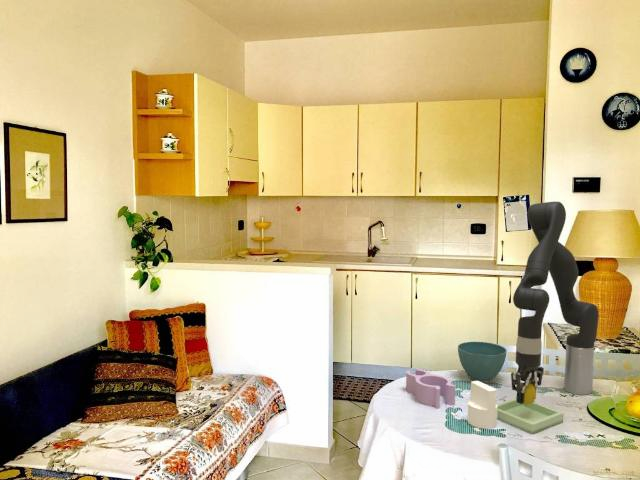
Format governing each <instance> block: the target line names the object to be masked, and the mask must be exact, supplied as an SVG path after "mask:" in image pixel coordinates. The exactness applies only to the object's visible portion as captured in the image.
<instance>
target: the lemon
mask: <svg viewBox="0 0 640 480" xmlns="http://www.w3.org/2000/svg"><path fill="white" fill-rule="evenodd" d="M521 388H522V385H521ZM536 399H537V389H536V390H535V387H534V386H533V385H532V384H531V383H529V382H528V386H526V387H525V391H524V404H525V405H526V406H527V405H529V404H531V403H533V402H535V401H536Z"/></svg>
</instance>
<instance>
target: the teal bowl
mask: <svg viewBox="0 0 640 480" xmlns="http://www.w3.org/2000/svg"><path fill="white" fill-rule="evenodd" d="M507 351H508V350H507V348H505V347H504V346H502V345H501V344H497V343H492V342H487V341H486V342H485V341H467V342H466V341H465V342H462V343H459V344H458V345H457V352H458V353H457V354H458V357H459V362H460V364H461V366H462V369H463V370H464V372H465V373H466V374H467V376H468V378H469V379H471V380H473V381H480V382H482V383H489V382H492V381H493V380H494V379H495V378H496V377H497V376H498V375H499V373H500V372H501V370H503V369H502V368H503V366H504V364H505V362H506V358H507V353H508V352H507Z"/></svg>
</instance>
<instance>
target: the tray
mask: <svg viewBox="0 0 640 480" xmlns="http://www.w3.org/2000/svg"><path fill="white" fill-rule="evenodd" d="M516 398H517V397H516ZM516 398H513V399H510V400H506V401H503V402H501V403H498V404H497V403H496V404H497V405H498V412H497V421H501V422H503V423H505V424H507V425H509V426H512V427H515V428H516V429H519V430H522V431H524V432H527V434H530V435H534V434H537V433H540V432H542V431H544V430H547V429H549V428H552V427H554V426H556V425H560V424H562V423H564V412H562V411H559V410H558V409H553V408H551V407H548V406H545V405H543V404H541V403H538V402H535V401H534V402H533V403H531V404H529V405H527V406H526V405H525V404H524V403H523V404H520V403H517V400H516Z"/></svg>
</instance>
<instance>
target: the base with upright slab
mask: <svg viewBox="0 0 640 480" xmlns="http://www.w3.org/2000/svg"><path fill="white" fill-rule="evenodd" d="M497 412H498V405H497V389H496V388H494V387H491V386H490V385H488V384H486V383H485V382H480V381H474V380H473V381H470V399H469V400H468V402H467V423H468V424H469V425H470V424H471V425H470V426H472V425H473V426H472V427H474V428H475V427H476V428H479V429H485V430H486V429H487V430H488V429H493V428H496V427H497V425H498V419H497Z"/></svg>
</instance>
